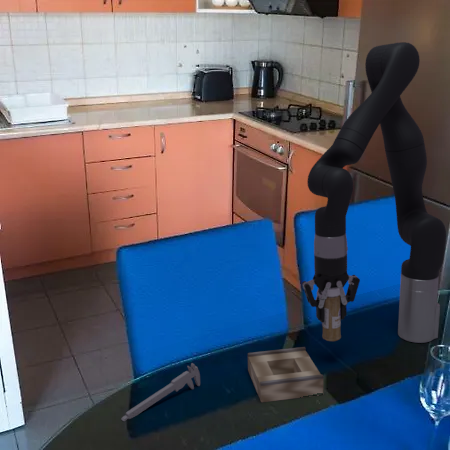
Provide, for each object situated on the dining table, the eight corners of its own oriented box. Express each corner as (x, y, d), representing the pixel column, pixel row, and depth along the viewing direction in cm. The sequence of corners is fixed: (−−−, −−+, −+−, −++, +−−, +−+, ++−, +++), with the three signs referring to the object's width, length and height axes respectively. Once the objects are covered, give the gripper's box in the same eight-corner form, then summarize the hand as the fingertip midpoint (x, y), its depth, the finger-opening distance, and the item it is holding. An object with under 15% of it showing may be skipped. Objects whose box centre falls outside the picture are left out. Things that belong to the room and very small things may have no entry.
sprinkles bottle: (341, 341, 140) (341, 289, 136) (322, 342, 141) (321, 289, 137) (340, 333, 145) (339, 281, 141) (321, 333, 145) (320, 282, 141)
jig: (304, 363, 144) (304, 346, 142) (323, 394, 130) (323, 376, 129) (248, 370, 142) (247, 353, 140) (261, 402, 128) (260, 383, 127)
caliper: (197, 385, 137) (196, 360, 135) (200, 386, 136) (199, 362, 134) (121, 420, 124) (118, 394, 122) (123, 422, 123) (121, 396, 121)
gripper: (353, 243, 141) (353, 309, 146) (296, 250, 139) (297, 317, 144) (366, 253, 134) (365, 322, 139) (305, 260, 132) (307, 330, 137)
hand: (331, 319), depth 141 cm, fingers closed on sprinkles bottle, 4 cm apart
